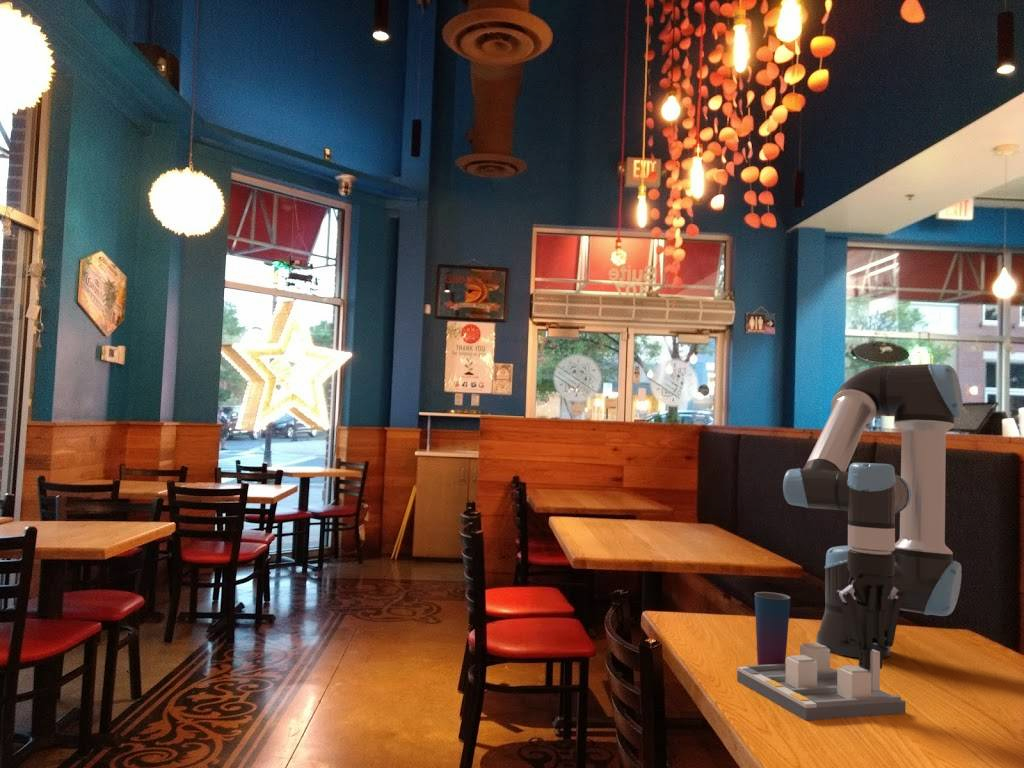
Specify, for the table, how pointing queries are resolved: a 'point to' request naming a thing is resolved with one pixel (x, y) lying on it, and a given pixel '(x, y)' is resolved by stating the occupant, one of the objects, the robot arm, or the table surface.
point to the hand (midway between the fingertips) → (870, 687)
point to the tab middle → (801, 671)
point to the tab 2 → (853, 682)
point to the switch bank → (816, 695)
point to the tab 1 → (817, 655)
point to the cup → (771, 627)
